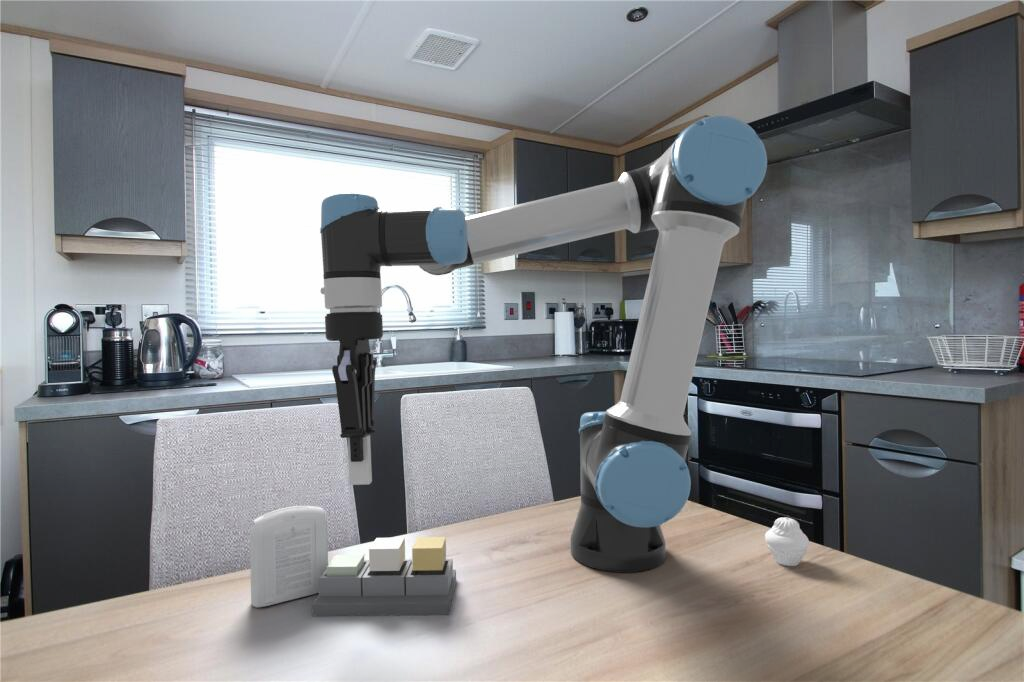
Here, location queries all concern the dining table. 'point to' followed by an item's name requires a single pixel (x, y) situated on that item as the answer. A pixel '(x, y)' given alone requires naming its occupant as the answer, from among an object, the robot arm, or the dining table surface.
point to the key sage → (345, 565)
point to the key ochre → (429, 553)
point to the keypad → (387, 592)
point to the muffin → (787, 542)
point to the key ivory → (387, 554)
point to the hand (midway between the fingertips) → (360, 482)
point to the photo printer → (287, 554)
